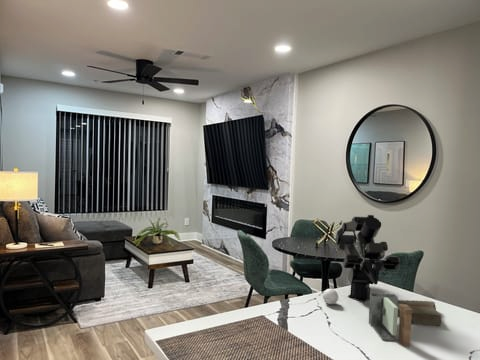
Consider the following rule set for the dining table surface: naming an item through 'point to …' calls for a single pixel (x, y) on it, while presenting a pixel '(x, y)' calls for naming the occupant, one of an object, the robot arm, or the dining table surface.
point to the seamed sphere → (330, 296)
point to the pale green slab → (390, 316)
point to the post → (405, 324)
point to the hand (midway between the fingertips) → (376, 283)
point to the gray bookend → (380, 314)
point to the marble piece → (422, 312)
